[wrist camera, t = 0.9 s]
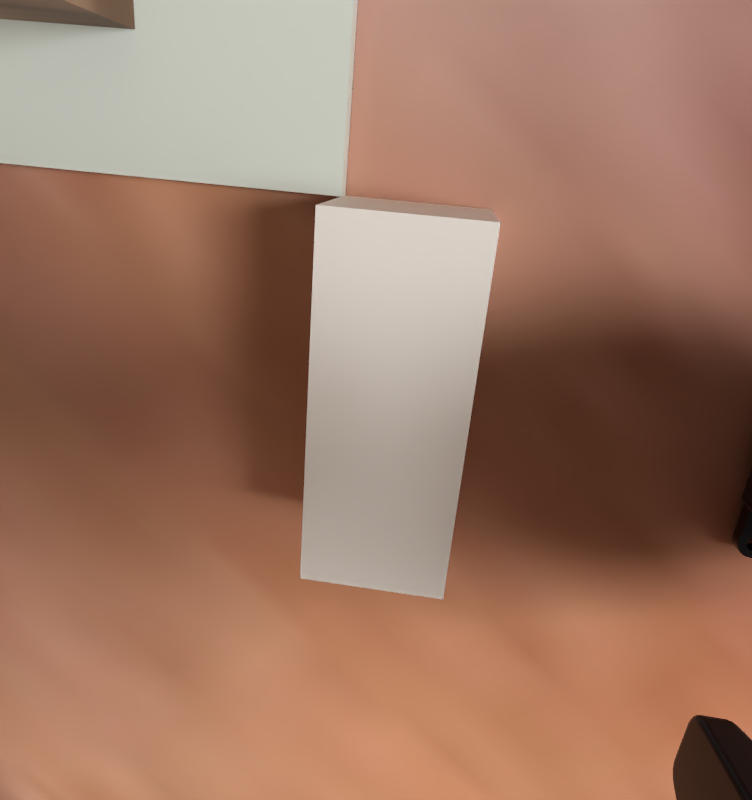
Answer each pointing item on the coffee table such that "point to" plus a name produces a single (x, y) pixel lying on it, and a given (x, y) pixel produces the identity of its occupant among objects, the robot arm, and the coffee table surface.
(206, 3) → the board
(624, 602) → the coffee table surface
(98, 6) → the block
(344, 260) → the lintel
